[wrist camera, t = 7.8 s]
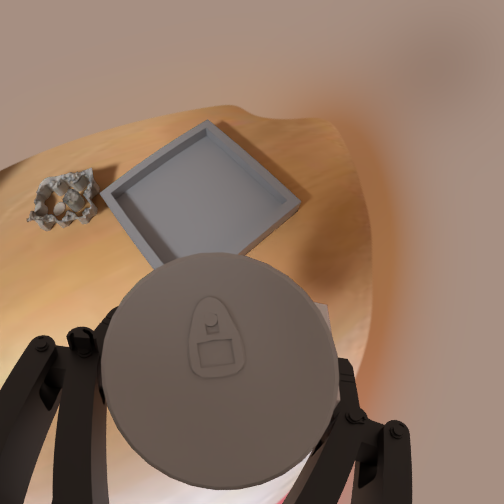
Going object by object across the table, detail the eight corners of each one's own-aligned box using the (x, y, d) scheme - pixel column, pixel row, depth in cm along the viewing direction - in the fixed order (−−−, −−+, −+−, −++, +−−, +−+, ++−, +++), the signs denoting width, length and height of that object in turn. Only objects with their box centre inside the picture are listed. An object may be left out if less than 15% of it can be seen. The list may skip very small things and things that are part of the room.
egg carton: (38, 234, 34) (22, 222, 31) (47, 190, 37) (35, 176, 33) (96, 227, 35) (83, 213, 31) (104, 179, 38) (93, 163, 34)
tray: (106, 202, 36) (99, 193, 34) (208, 130, 41) (207, 119, 38) (184, 306, 32) (179, 302, 30) (297, 211, 37) (301, 201, 35)
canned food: (254, 288, 20) (274, 215, 10) (304, 392, 18) (378, 426, 8) (152, 331, 19) (69, 301, 8) (200, 436, 17) (164, 515, 6)
